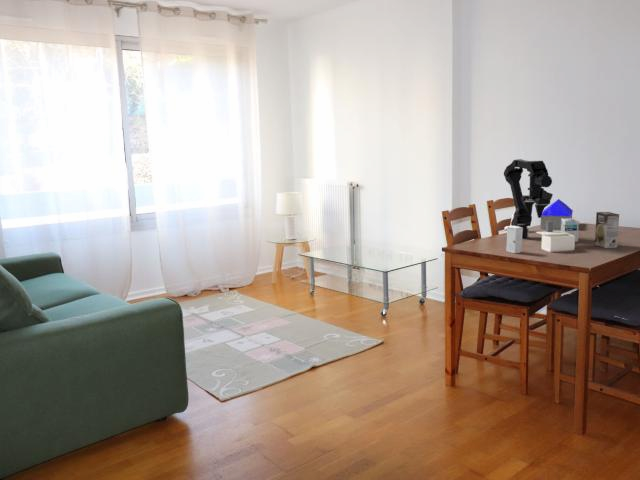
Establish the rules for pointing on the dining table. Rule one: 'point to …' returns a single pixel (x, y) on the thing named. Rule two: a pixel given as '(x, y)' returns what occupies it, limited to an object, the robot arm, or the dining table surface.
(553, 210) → the house
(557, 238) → the carton
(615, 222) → the coffee box
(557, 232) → the carton lid
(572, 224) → the light bulb box
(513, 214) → the seated beast figurine
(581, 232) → the dining table surface
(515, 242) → the skincare box
